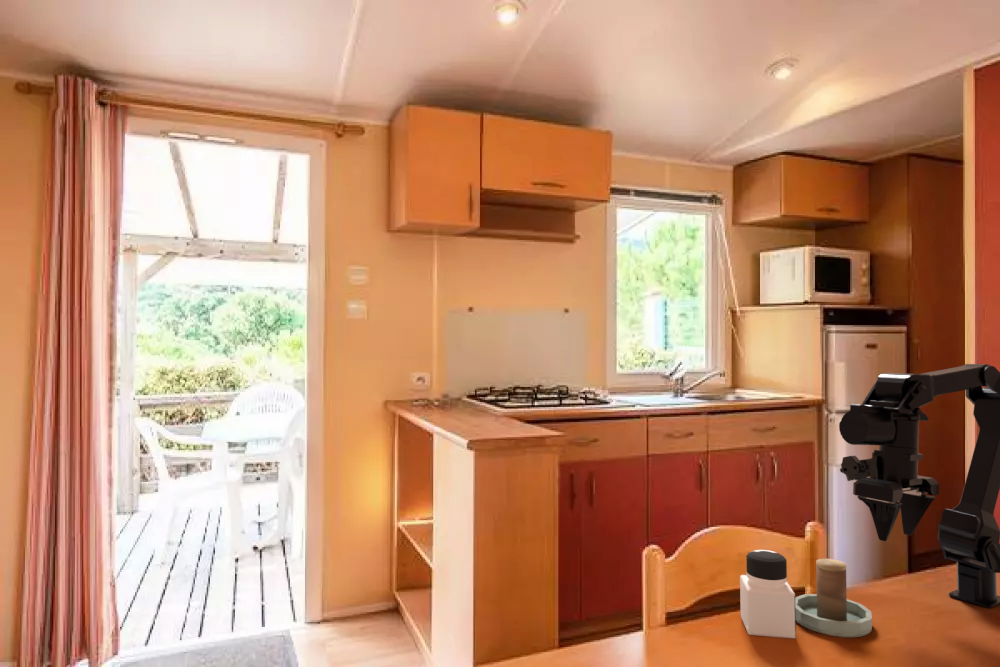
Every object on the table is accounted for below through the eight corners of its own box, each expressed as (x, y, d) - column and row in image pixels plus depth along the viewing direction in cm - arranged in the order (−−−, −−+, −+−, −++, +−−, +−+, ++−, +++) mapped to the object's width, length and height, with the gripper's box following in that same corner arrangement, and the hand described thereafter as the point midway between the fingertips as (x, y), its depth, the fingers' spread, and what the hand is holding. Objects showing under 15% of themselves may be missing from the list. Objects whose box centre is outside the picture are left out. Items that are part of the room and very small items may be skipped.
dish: (819, 601, 113) (819, 589, 113) (886, 626, 103) (886, 612, 103) (777, 616, 107) (777, 603, 107) (844, 643, 97) (844, 629, 97)
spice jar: (830, 610, 108) (829, 557, 108) (853, 620, 103) (852, 565, 104) (810, 614, 106) (810, 560, 106) (832, 625, 102) (832, 569, 102)
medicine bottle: (796, 639, 98) (795, 562, 99) (748, 635, 100) (747, 559, 100) (785, 620, 105) (784, 547, 106) (740, 616, 107) (739, 545, 107)
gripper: (874, 438, 121) (871, 521, 120) (823, 440, 110) (820, 531, 109) (941, 447, 111) (938, 536, 111) (893, 450, 101) (889, 549, 100)
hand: (895, 537), depth 108 cm, fingers open, 9 cm apart
